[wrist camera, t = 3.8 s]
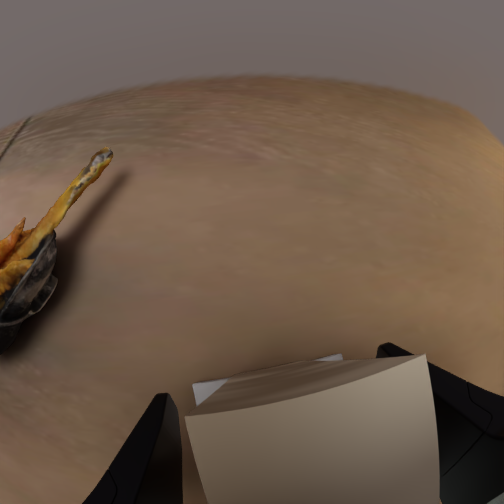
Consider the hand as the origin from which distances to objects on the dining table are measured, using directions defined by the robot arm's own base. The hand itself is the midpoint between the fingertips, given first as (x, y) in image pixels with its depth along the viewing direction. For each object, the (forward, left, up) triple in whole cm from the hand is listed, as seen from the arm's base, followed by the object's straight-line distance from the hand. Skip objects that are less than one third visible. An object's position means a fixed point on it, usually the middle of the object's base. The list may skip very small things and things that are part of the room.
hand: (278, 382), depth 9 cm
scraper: (-1, +1, -7) cm, 7 cm away
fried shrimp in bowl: (+17, -1, -7) cm, 19 cm away
